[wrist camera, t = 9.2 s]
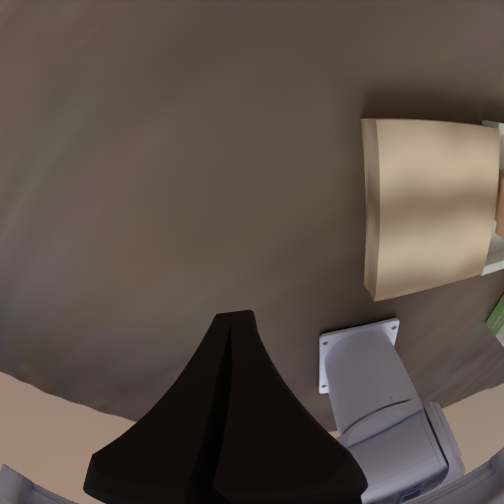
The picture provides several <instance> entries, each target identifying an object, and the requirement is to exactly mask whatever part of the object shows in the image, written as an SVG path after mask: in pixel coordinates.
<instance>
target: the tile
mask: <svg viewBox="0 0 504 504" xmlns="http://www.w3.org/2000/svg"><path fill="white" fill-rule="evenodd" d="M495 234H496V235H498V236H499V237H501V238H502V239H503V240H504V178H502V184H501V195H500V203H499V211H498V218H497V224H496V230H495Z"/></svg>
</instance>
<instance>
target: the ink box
mask: <svg viewBox="0 0 504 504" xmlns="http://www.w3.org/2000/svg"><path fill="white" fill-rule="evenodd" d="M485 324H486V325H487V326H488V327H489V329H490V330H491V331H492V332H493V334H494V335H495V336H496V337H497V339H498V340H499V341H500V342H501V344H502V345H503V346H504V294H503V296H502V297H501V299H500V301H499V302H498V304H497V306H496V307H495V309H494V310H493V312H492V313H491V315H490V316H489V318H488V320H487V321H486V323H485Z"/></svg>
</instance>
